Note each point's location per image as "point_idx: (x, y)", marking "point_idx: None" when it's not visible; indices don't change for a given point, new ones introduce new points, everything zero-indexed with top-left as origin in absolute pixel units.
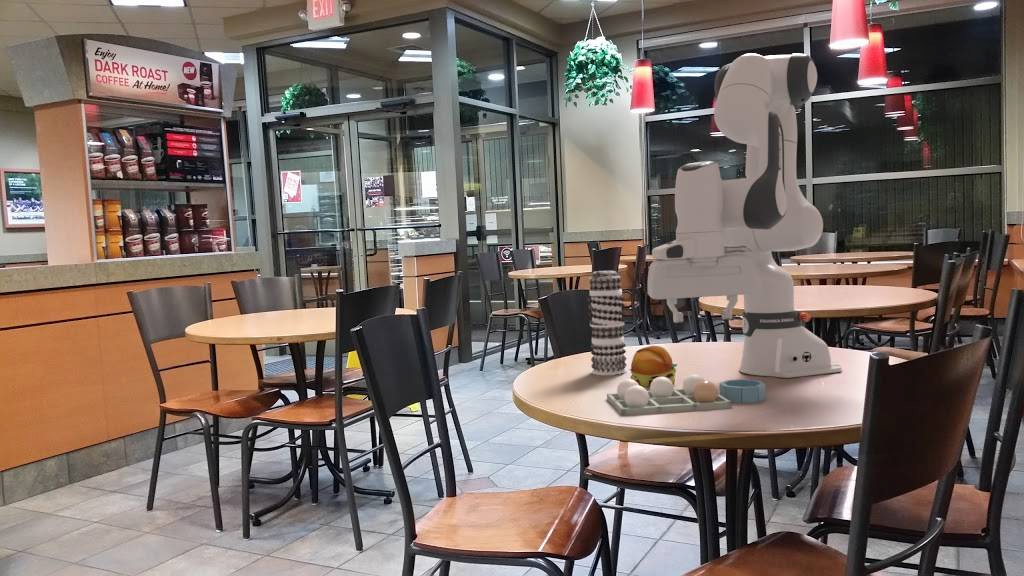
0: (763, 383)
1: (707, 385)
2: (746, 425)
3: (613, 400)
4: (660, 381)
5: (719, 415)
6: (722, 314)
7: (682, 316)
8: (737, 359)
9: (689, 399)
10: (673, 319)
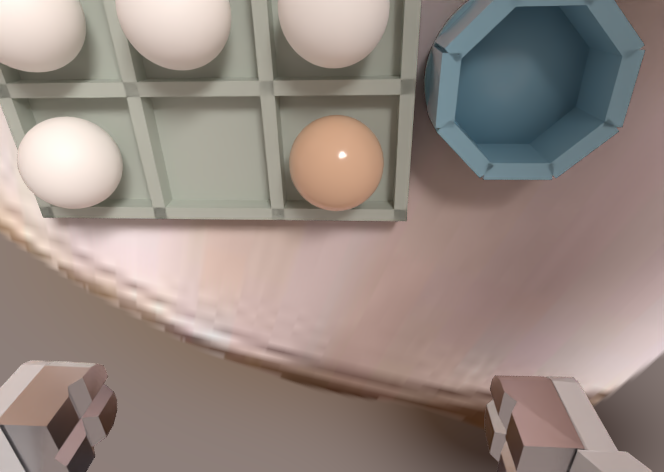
0: (615, 126)
1: (332, 207)
2: (377, 340)
3: None
4: (153, 53)
5: (349, 239)
6: (514, 407)
7: (88, 456)
8: None
9: (277, 147)
10: (21, 375)
